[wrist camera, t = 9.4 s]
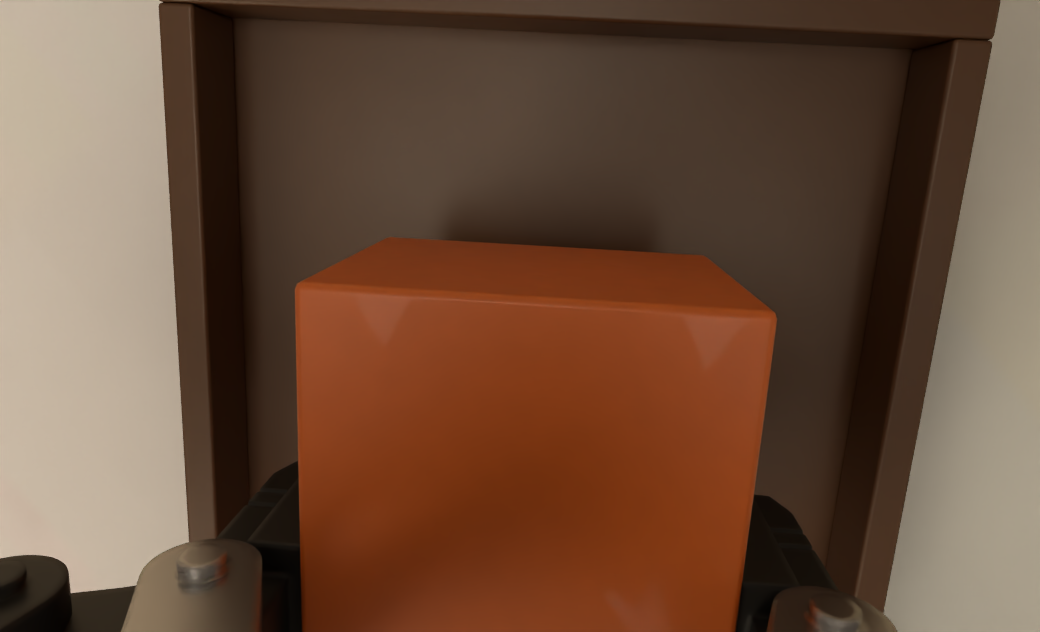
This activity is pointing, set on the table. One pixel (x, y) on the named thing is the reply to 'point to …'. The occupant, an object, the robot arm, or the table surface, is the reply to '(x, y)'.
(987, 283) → the table surface
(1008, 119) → the table surface
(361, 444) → the block
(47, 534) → the table surface
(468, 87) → the tray
